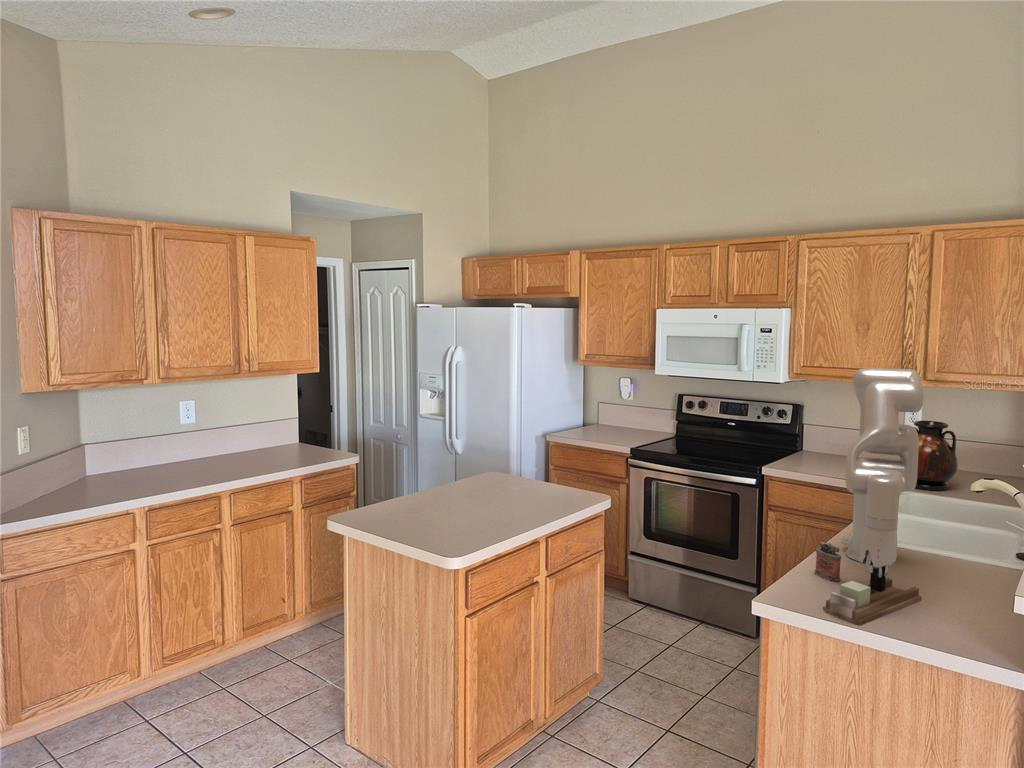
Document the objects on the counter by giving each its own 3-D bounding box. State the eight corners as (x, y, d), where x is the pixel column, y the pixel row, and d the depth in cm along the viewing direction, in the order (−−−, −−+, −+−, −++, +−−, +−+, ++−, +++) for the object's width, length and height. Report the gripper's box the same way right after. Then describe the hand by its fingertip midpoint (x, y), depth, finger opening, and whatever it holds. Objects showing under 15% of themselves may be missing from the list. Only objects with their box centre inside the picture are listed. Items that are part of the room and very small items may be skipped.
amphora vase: (960, 485, 302) (964, 422, 299) (951, 496, 286) (956, 429, 282) (904, 477, 316) (908, 417, 313) (893, 487, 299) (897, 423, 296)
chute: (822, 610, 180) (823, 590, 179) (884, 587, 194) (885, 568, 194) (859, 625, 171) (860, 604, 171) (921, 600, 186) (922, 580, 185)
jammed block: (839, 607, 179) (840, 584, 179) (851, 602, 182) (852, 580, 181) (857, 614, 175) (858, 591, 174) (869, 609, 178) (870, 587, 177)
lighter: (812, 573, 205) (813, 540, 204) (820, 571, 206) (822, 538, 205) (834, 583, 197) (836, 549, 196) (843, 581, 199) (844, 547, 198)
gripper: (883, 514, 188) (880, 579, 191) (850, 523, 181) (846, 591, 183) (911, 521, 182) (907, 588, 184) (878, 531, 174) (874, 601, 176)
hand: (877, 589), depth 183 cm, fingers closed
